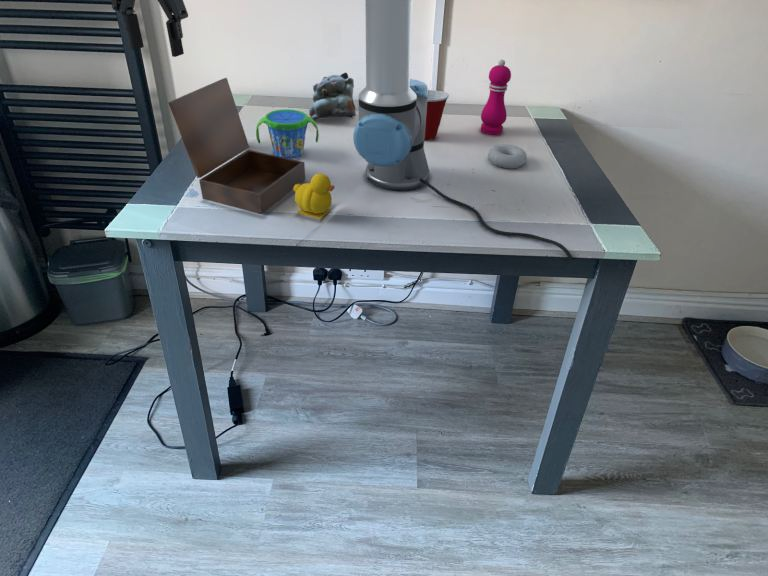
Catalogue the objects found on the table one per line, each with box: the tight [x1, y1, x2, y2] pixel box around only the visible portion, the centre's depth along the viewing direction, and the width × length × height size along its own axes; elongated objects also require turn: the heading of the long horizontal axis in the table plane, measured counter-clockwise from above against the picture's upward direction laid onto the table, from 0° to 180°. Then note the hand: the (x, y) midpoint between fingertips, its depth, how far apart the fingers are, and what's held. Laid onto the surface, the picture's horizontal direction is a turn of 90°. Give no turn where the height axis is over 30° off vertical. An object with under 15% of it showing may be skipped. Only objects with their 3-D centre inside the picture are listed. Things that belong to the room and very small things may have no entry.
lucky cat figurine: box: [308, 72, 357, 121], centre depth 164 cm, size 15×12×14 cm
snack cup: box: [255, 108, 320, 159], centre depth 141 cm, size 16×10×10 cm
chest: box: [199, 149, 306, 215], centre depth 126 cm, size 15×18×5 cm
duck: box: [292, 173, 336, 222], centre depth 117 cm, size 9×6×10 cm, turn 66°
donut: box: [487, 143, 528, 169], centre depth 144 cm, size 10×4×10 cm
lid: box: [167, 77, 250, 179], centre depth 123 cm, size 16×18×5 cm
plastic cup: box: [424, 89, 450, 141], centre depth 153 cm, size 11×11×12 cm
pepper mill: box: [480, 59, 512, 136], centre depth 156 cm, size 7×7×20 cm
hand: (157, 51), depth 117 cm, fingers open, 10 cm apart
